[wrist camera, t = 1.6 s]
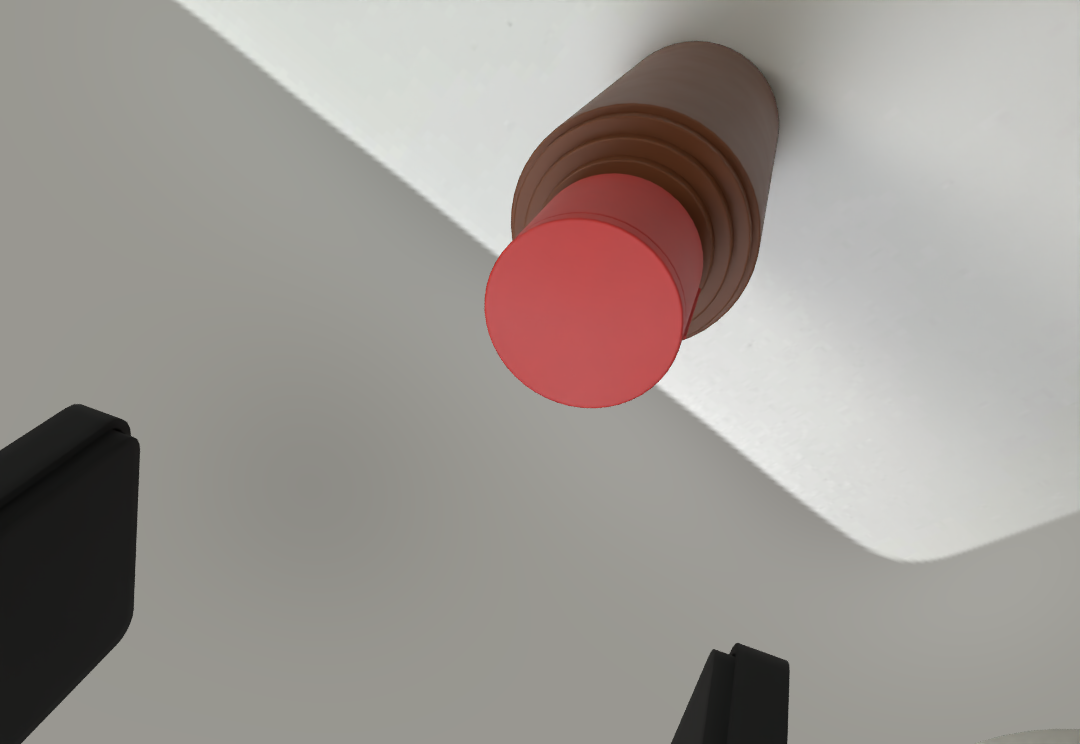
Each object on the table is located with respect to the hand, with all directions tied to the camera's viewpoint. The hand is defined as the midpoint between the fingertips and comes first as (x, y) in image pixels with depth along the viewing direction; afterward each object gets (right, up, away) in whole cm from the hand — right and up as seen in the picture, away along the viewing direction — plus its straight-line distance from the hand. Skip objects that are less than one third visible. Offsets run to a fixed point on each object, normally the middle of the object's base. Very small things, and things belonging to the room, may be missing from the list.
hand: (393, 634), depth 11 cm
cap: (+3, +6, +12) cm, 13 cm away
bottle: (+7, +12, +26) cm, 30 cm away
